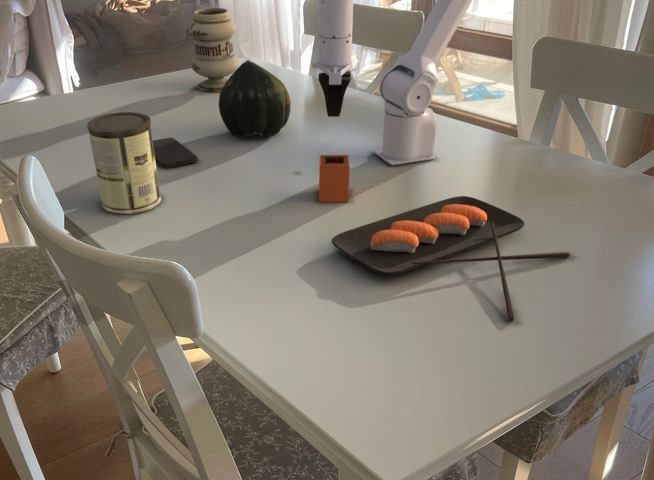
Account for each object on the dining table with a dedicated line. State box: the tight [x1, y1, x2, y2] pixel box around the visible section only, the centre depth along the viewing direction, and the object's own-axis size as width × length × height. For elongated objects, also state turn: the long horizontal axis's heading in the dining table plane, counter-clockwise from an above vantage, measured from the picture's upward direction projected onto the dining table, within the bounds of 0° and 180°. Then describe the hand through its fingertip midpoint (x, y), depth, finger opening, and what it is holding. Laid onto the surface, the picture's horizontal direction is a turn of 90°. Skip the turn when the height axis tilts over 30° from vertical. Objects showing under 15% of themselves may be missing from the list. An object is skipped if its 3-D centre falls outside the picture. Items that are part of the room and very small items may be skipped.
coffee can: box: [86, 111, 162, 215], centre depth 120 cm, size 10×10×14 cm
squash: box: [218, 59, 292, 138], centre depth 149 cm, size 14×15×15 cm
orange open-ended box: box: [318, 154, 351, 203], centre depth 122 cm, size 6×5×5 cm
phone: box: [153, 137, 198, 168], centre depth 142 cm, size 7×1×15 cm
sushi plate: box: [331, 195, 571, 322], centre depth 102 cm, size 29×30×4 cm
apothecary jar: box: [188, 7, 240, 93], centre depth 178 cm, size 12×12×18 cm
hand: (333, 115), depth 129 cm, fingers closed
